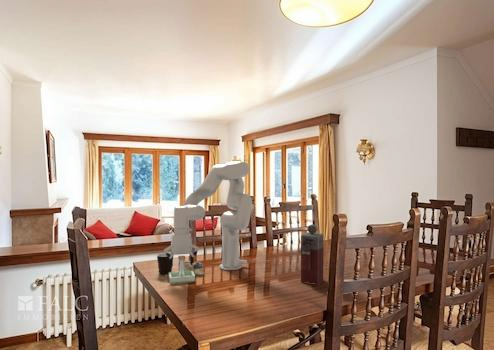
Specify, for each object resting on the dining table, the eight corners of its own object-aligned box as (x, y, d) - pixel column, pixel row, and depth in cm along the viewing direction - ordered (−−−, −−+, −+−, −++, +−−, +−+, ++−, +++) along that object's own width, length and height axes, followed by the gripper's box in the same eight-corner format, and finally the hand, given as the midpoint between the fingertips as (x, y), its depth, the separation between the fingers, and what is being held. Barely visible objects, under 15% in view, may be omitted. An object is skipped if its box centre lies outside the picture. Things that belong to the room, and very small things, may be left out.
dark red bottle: (298, 283, 162) (299, 225, 162) (306, 277, 172) (306, 222, 172) (317, 286, 158) (317, 227, 158) (323, 280, 167) (323, 224, 167)
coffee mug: (169, 276, 173) (169, 257, 173) (153, 275, 174) (154, 256, 174) (178, 270, 184) (178, 251, 184) (163, 269, 186) (163, 251, 186)
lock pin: (184, 277, 169) (184, 255, 169) (185, 279, 166) (185, 256, 166) (177, 277, 168) (177, 255, 168) (178, 279, 165) (178, 257, 165)
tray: (192, 276, 173) (192, 270, 173) (194, 281, 164) (195, 275, 164) (168, 278, 170) (168, 272, 170) (169, 284, 160) (169, 277, 160)
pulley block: (201, 270, 183) (201, 259, 183) (203, 274, 176) (203, 263, 176) (180, 272, 180) (180, 261, 180) (182, 276, 173) (182, 264, 173)
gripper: (197, 229, 173) (197, 262, 173) (163, 230, 168) (163, 264, 168) (200, 231, 166) (200, 266, 166) (164, 233, 161) (164, 268, 161)
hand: (181, 265), depth 167 cm, fingers open, 9 cm apart
